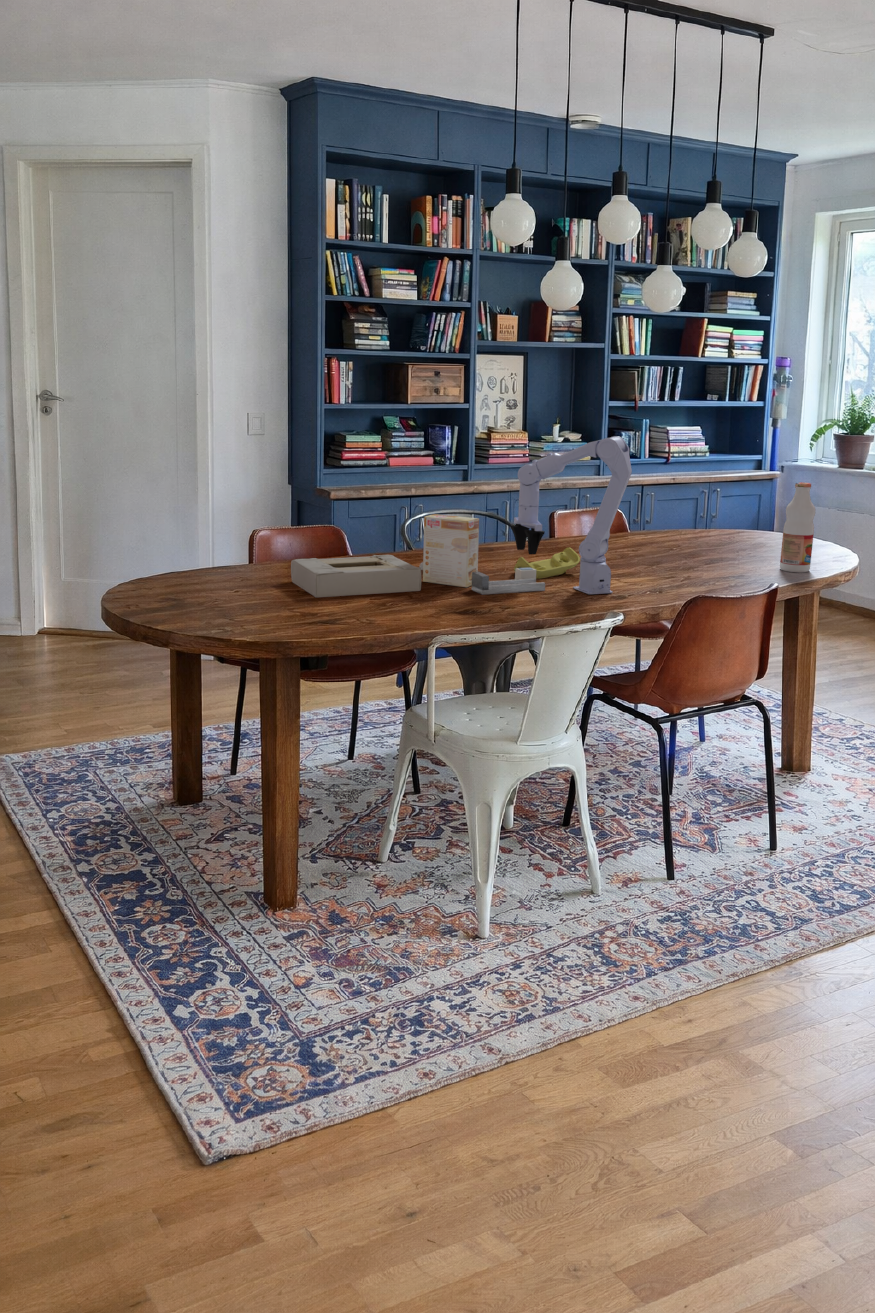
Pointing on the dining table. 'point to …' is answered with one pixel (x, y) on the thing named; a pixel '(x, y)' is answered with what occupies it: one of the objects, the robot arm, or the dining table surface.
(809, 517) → the fruit juice
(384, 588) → the box
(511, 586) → the rail
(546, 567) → the plastic component
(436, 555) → the coffeecake box
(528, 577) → the block
